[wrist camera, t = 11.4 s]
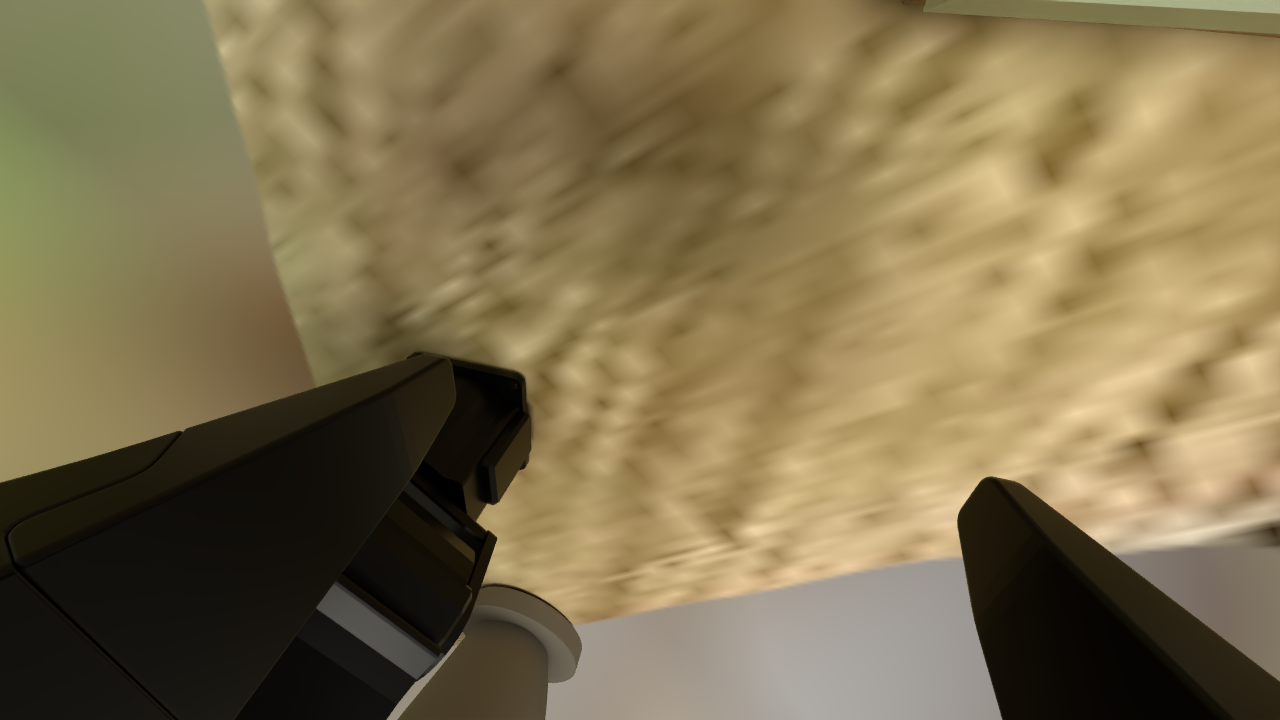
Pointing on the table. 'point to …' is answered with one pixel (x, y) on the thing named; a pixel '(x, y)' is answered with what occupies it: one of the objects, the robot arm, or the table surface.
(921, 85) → the table surface
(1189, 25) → the sage slab
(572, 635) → the vase
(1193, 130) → the table surface
